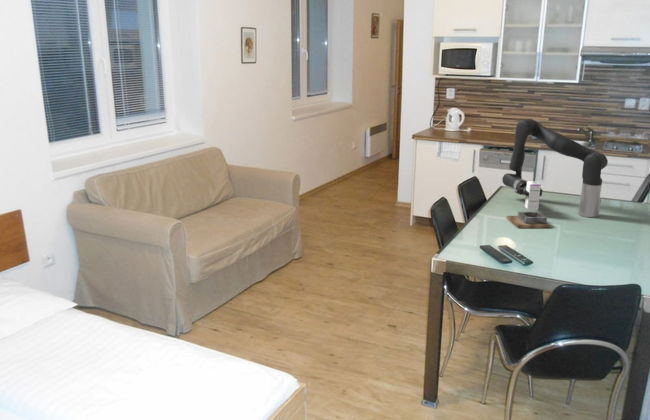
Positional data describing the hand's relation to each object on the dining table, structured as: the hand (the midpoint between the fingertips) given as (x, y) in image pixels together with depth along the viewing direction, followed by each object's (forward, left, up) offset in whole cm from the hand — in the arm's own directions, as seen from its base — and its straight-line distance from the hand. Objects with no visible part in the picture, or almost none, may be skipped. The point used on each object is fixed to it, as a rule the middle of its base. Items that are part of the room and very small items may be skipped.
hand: (534, 194), depth 303 cm
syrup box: (0, -2, -9) cm, 9 cm away
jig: (+8, +14, -11) cm, 20 cm away
